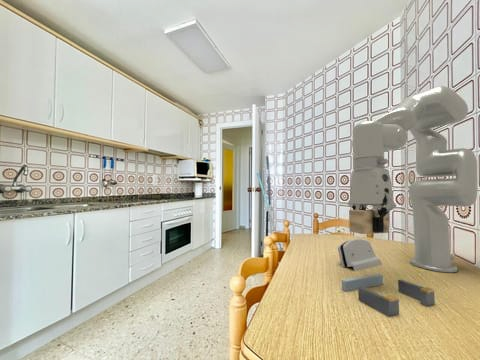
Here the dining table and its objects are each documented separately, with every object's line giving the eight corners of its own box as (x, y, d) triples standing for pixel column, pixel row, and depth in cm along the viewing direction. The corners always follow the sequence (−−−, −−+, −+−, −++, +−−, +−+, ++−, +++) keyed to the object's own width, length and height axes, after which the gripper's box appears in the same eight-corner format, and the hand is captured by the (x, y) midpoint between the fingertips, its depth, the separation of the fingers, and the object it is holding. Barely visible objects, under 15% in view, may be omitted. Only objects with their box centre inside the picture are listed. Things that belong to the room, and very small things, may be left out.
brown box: (375, 230, 61) (375, 209, 61) (389, 232, 57) (388, 210, 58) (349, 231, 58) (348, 209, 58) (362, 234, 54) (361, 210, 54)
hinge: (355, 271, 68) (344, 240, 72) (342, 271, 72) (333, 242, 76) (382, 264, 76) (372, 236, 80) (370, 264, 80) (360, 238, 84)
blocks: (401, 290, 55) (400, 277, 55) (435, 304, 48) (434, 289, 48) (358, 300, 49) (358, 285, 50) (389, 317, 42) (389, 299, 43)
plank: (378, 282, 60) (378, 273, 60) (383, 284, 58) (382, 275, 59) (341, 289, 55) (341, 279, 55) (345, 291, 54) (345, 281, 54)
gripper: (409, 162, 52) (412, 235, 51) (354, 169, 68) (355, 226, 67) (388, 160, 50) (390, 236, 48) (335, 168, 66) (336, 226, 64)
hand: (370, 229), depth 58 cm, fingers closed on brown box, 4 cm apart
